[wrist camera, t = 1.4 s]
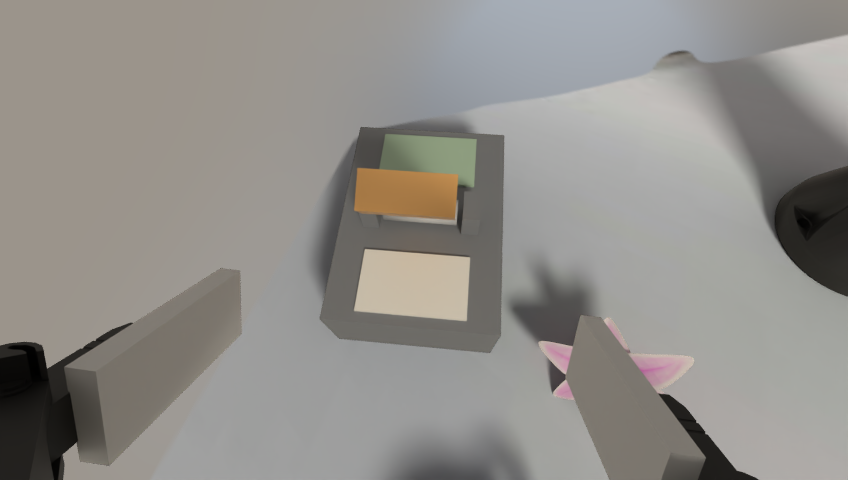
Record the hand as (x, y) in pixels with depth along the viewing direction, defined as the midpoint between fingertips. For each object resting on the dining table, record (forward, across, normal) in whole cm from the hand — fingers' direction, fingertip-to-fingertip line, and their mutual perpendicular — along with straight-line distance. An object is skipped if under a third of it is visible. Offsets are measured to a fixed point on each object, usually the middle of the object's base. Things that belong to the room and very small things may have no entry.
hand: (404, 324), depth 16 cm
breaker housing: (+31, -1, -7) cm, 32 cm away
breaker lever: (+25, -1, -1) cm, 25 cm away
